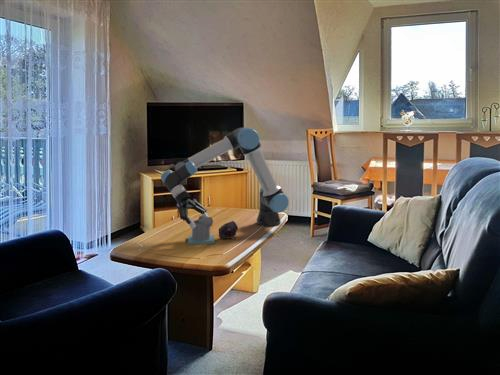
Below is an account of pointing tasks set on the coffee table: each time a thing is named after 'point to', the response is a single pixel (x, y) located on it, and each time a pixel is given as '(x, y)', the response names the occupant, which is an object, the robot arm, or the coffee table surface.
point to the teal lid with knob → (209, 241)
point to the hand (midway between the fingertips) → (202, 225)
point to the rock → (228, 230)
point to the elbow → (202, 228)
